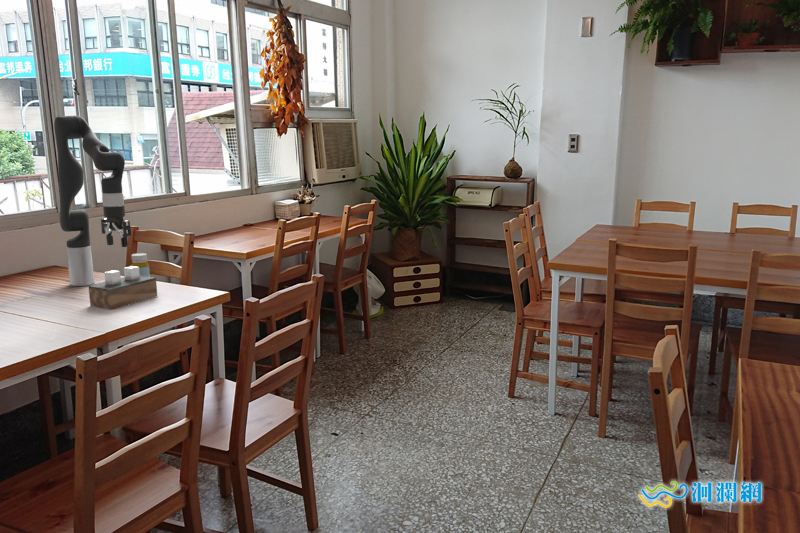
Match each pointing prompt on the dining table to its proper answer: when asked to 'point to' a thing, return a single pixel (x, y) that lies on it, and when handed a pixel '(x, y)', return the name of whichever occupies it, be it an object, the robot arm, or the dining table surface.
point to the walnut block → (122, 292)
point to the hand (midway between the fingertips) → (117, 245)
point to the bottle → (141, 263)
